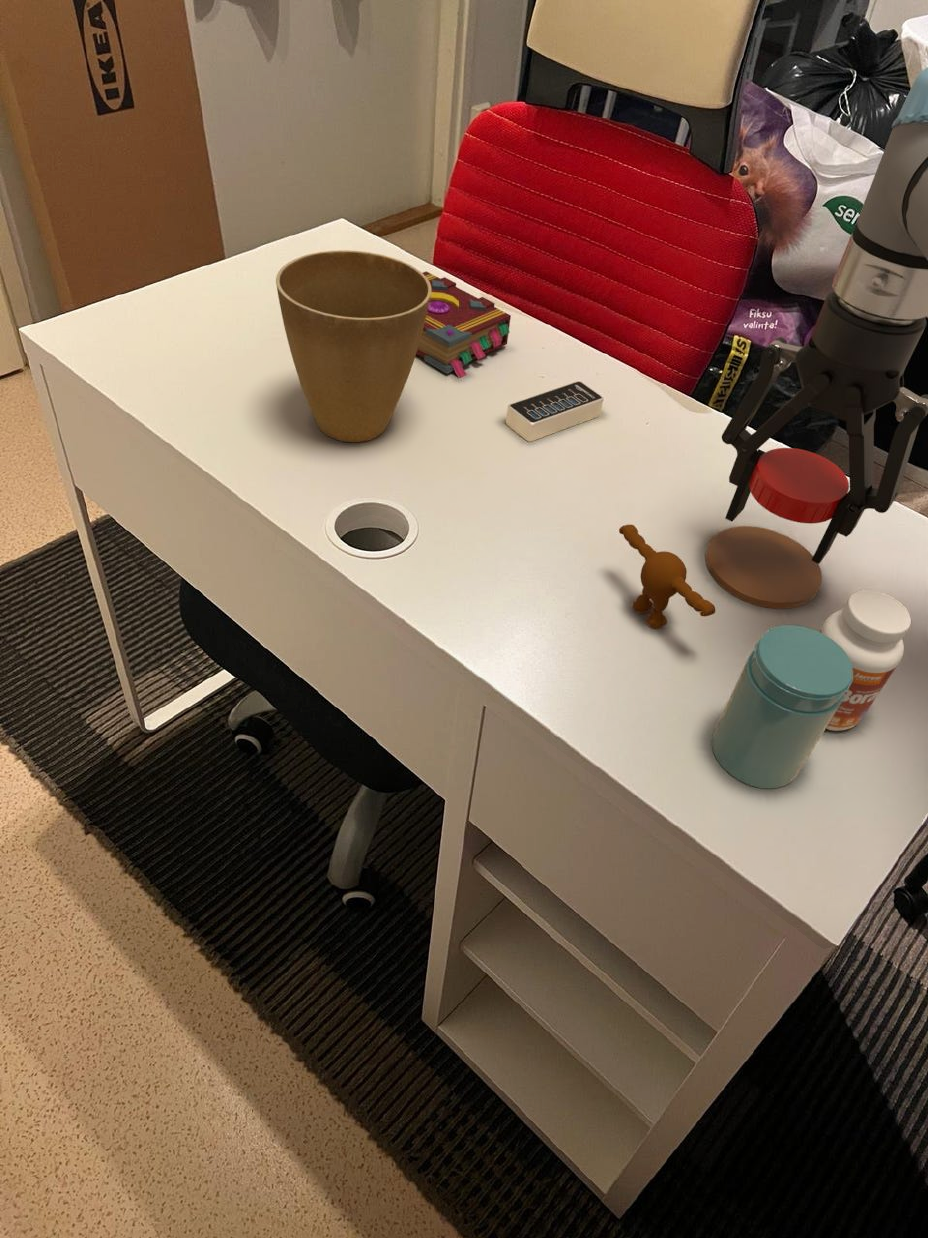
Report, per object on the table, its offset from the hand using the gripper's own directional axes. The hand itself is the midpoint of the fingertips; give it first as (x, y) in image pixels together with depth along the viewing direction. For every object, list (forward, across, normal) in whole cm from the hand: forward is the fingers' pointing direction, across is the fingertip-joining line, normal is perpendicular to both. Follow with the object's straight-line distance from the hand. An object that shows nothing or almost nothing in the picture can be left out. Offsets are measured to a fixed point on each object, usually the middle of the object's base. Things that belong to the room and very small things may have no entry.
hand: (776, 533), depth 84 cm
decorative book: (+5, -49, +12) cm, 51 cm away
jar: (+4, +9, -21) cm, 23 cm away
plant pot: (+5, -44, -9) cm, 46 cm away
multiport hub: (+5, -29, +7) cm, 30 cm away
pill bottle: (+4, +11, -13) cm, 17 cm away
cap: (-6, 0, 0) cm, 6 cm away
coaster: (+4, 0, 0) cm, 4 cm away
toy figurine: (+5, -5, -13) cm, 15 cm away
